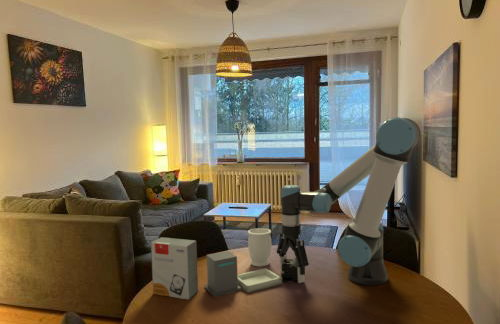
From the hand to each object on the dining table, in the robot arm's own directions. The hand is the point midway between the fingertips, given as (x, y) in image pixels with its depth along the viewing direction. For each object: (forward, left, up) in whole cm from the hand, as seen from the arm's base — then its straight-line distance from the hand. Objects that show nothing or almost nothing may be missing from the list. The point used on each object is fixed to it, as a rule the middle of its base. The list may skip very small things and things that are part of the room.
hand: (292, 276), depth 151 cm
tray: (+3, +14, 0) cm, 15 cm away
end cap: (0, 0, -1) cm, 1 cm away
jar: (+21, +3, -1) cm, 21 cm away
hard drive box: (+11, +45, -1) cm, 46 cm away
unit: (+5, +28, 0) cm, 29 cm away
